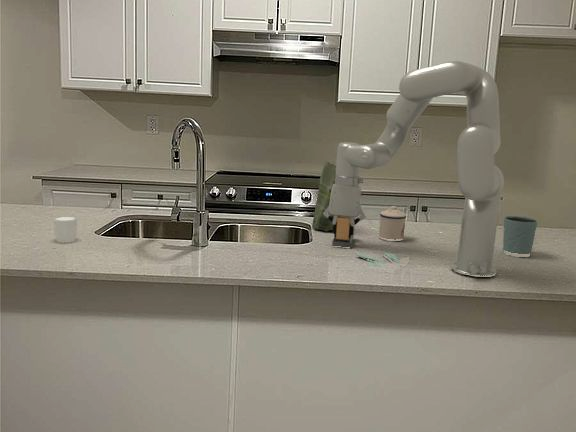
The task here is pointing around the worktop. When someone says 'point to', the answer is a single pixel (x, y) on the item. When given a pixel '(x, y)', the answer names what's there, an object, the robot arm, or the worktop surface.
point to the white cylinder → (65, 229)
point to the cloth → (391, 256)
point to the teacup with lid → (392, 224)
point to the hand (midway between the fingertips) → (342, 236)
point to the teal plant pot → (519, 234)
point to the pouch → (324, 198)
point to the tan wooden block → (343, 227)
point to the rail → (343, 241)
